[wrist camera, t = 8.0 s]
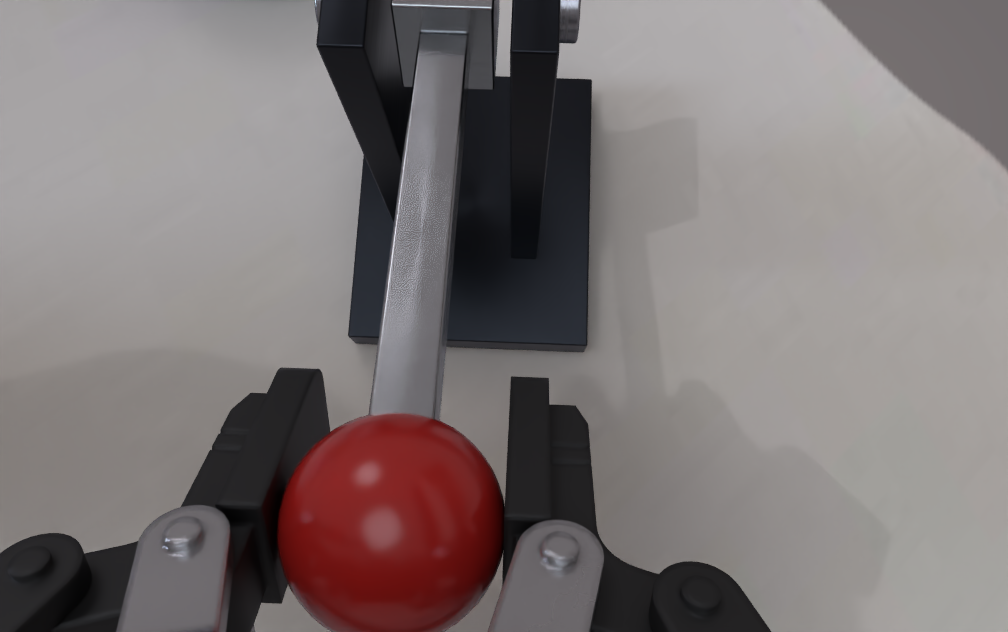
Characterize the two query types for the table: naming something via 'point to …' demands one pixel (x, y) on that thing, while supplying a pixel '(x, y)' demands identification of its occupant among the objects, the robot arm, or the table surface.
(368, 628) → the lever
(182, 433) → the table surface
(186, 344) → the table surface
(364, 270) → the switch bracket
